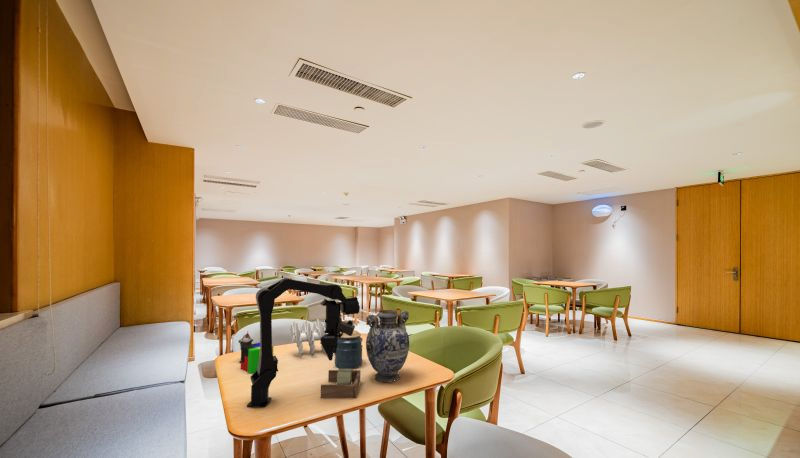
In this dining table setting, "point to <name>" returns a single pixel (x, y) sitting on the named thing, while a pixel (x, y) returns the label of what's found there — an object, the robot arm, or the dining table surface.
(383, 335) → the decorative vase
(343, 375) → the block
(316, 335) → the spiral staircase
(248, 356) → the puzzle toy
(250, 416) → the dining table surface
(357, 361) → the canister
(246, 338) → the dark lantern
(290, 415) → the dining table surface
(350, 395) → the open wooden frame
